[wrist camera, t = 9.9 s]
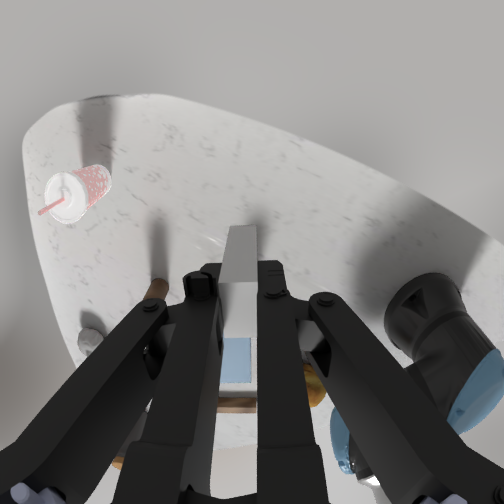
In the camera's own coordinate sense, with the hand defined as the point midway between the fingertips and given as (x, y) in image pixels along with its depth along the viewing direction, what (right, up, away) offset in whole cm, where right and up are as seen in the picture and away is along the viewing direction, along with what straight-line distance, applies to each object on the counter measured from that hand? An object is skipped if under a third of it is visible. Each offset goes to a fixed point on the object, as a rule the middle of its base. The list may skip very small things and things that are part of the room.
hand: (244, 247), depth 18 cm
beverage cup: (-21, +10, +20) cm, 30 cm away
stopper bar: (-7, -30, +38) cm, 49 cm away
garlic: (-28, -15, +31) cm, 45 cm away
